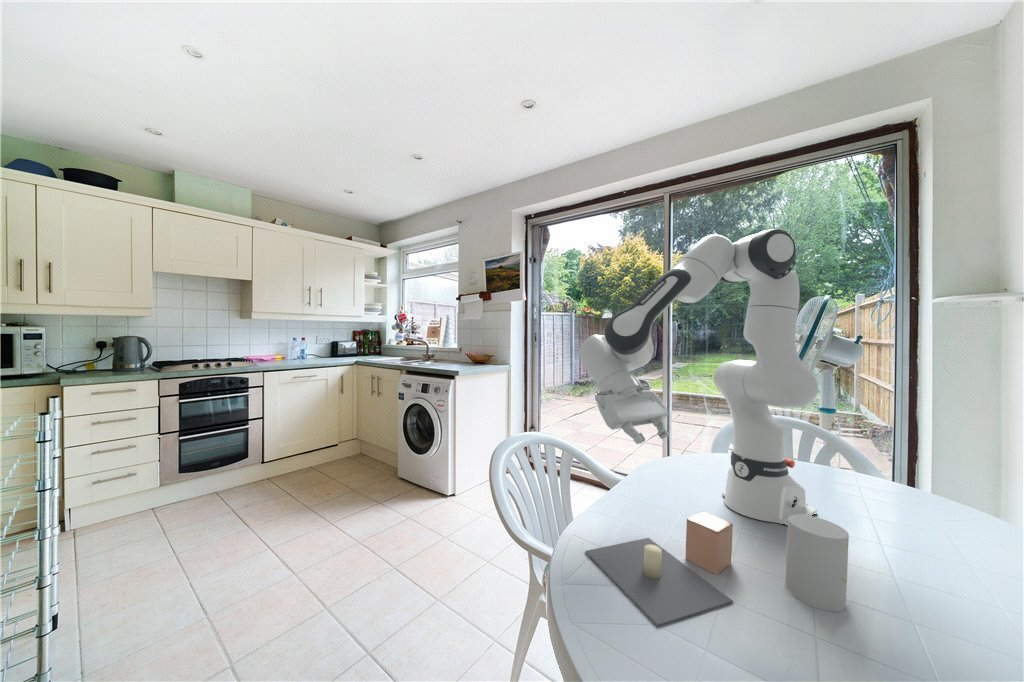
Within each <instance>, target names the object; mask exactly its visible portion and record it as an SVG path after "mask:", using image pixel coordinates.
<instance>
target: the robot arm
mask: <svg viewBox="0 0 1024 682" xmlns="http://www.w3.org/2000/svg"><path fill="white" fill-rule="evenodd" d="M796 255H797V247H796V243H795V239H793V236H792V235H791V234H790V233H789V232H788V231H786V230H783V229H779V228H778V229H777V228H774V229H771V228H770V229H766V230H761V231H759V232H757V233H755V234H751V235H748V236H745V237H743V238H740V239H739V240H738V241H735V242H732V241H731V240H730V239H729V238H727V237H726V236H724V235H721V234H708V235H707V236H705V237H703V238H702V239H701V240H699V241H697V243H695V244H694V245H693V246H692V247H690V249H689V250H688V251H686V253H685V254H684V255H682V257H681V258H680V259H679V260H678V261H677V262H676V264H674V266H673V267H672V268H670V269H669V270H667V271H666V272H664V273H663V274H661V276H660V277H659V278H658V279H657V280H655V282H653V284H652V285H650V287H648V288H647V289H646V290H645V291H644V292H643V293H642V294H641V295H640V296H639V297H638V298H637V299H636V300H635V301H634V302H633V303H632V304H629V305H628V306H627V307H626V308H624V309H622V310H620V311H619V312H617V313H615V314H613V315H612V316H611V317H610V318H609V319H608V321H607V323H606V324H605V327H604V335H602V334H597V333H596V334H592V335H590V336H589V337H587V338H586V339H584V341H583V342H582V343H581V345H580V348H579V351H578V352H579V357H580V361H581V363H582V365H583V366H584V369H585V371H586V372H587V373H588V375H589V377H590V378H591V379H592V380H594V382H595V383H596V387H597V389H598V391H597V392H596V394H595V396H594V399H595V401H596V403H597V408H598V410H599V412H600V415H601V417H602V419H603V421H604V422H605V425H606V426H607V427H608V428H609V429H611V430H619V429H621V430H623V432H624V433H625V434H626V435H628V436H629V437H630V438H632V439H633V441H634V443H635V444H636V445H639V444H641V445H642V444H643V443H644V442H645V441H646V437H645V436H644V434H643V433H642V432H639V431H638V430H637V429H636V428H635V427H638V426H644V425H645V426H646V425H651V424H652V425H653V426H654V427H655V428H656V430H657V432H656V434H657V435H658V436H659V438H660V439H661V440H664V439H667V438H668V437H669V436H670V433H669V432H668V430H667V428H666V425H665V421H664V420H666V418H668V417H669V411H668V409H667V407H666V406H665V404H664V402H663V401H662V400H661V398H660V397H659V395H658V394H657V393H656V392H655V391H654V390H652V388H653V386H652V385H651V383H650V382H649V381H647V380H646V379H642V378H640V377H638V376H635V375H634V374H633V375H632V373H631V372H634V371H636V370H638V369H640V368H643V367H645V366H646V365H648V364H650V362H651V360H652V359H653V357H654V352H655V349H654V343H653V340H652V337H651V332H652V331H651V330H652V326H653V324H654V322H655V321H656V319H658V318H659V317H660V316H661V315H662V314H663V312H664V311H666V310H667V308H669V307H670V305H671V304H672V303H673V302H674V301H679V302H681V303H685V304H694V303H697V302H699V301H701V300H702V299H703V298H705V296H707V295H708V294H709V293H710V292H711V291H713V289H714V288H715V287H716V285H717V284H718V283H719V282H723V283H725V284H738V283H740V282H746V281H747V283H748V286H749V289H750V291H749V292H750V294H749V298H748V303H747V309H746V315H745V322H744V325H743V326H744V327H743V337H744V339H745V341H747V343H749V344H750V345H752V346H753V348H754V352H755V354H756V355H755V357H756V358H755V360H745V359H735V360H729V361H724V362H721V363H720V364H719V365H718V366H717V367H716V369H715V371H714V373H713V383H714V385H715V387H716V389H717V390H718V392H720V393H721V395H722V396H723V398H724V399H725V402H726V403H727V406H728V409H729V411H730V414H731V419H732V425H733V441H732V442H733V447H732V448H733V450H731V453H730V454H731V455H730V465H731V467H730V468H728V471H727V478H726V484H725V490H723V491H722V492H721V493H722V494H721V496H722V497H723V496H724V497H725V498H724V497H723V498H724V499H723V500H724V501H723V502H724V505H725V506H726V507H727V508H729V509H731V510H732V511H734V512H735V513H737V514H740V515H742V516H745V517H748V518H751V519H755V520H759V521H763V522H769V523H775V524H781V525H783V524H785V525H784V526H787V525H788V517H789V516H790V515H808V516H811V515H812V514H814V513H816V512H817V513H818V510H817V509H816V508H815V507H814V506H812V505H811V504H809V503H807V502H806V490H805V488H804V486H802V485H801V484H800V483H799V482H798V481H797V480H795V479H794V478H793V477H792V476H791V475H790V474H789V470H788V468H791V469H793V468H795V466H796V465H795V464H796V462H795V460H793V459H789V458H786V457H785V437H786V435H785V429H784V428H783V426H782V425H781V424H780V422H778V421H777V420H776V419H775V418H774V416H773V415H772V413H771V411H770V409H769V406H771V407H775V408H782V409H783V408H786V409H795V408H798V409H799V408H800V409H801V408H805V407H808V406H809V405H811V403H813V402H814V401H815V400H816V397H817V396H818V392H819V383H818V380H817V378H816V376H815V374H814V373H813V371H811V370H810V369H808V367H806V365H805V364H804V362H803V361H802V359H801V358H800V356H799V353H798V351H797V345H796V332H797V331H796V330H797V329H796V328H797V323H798V322H797V321H798V314H799V308H800V307H799V306H800V293H801V292H800V281H799V276H798V274H797V273H796V272H795V271H793V269H794V267H795V264H796ZM805 505H807V506H805Z"/></svg>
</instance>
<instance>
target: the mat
mask: <svg viewBox="0 0 1024 682" xmlns="http://www.w3.org/2000/svg"><path fill="white" fill-rule="evenodd" d="M584 553H585V554H586V555H587V556H588V558H590V560H591V561H593V563H595V564H596V565H597V567H598V568H599V569H600V570H601V571H602V572H603V573H604V574H605V575H606V576H607V577H608V578H609V579H610V580H611V582H613V583H614V584H615V585H616V587H618V589H620V590H621V591H622V592H623V594H624V595H625V596H626V597H627V598H628V597H629V598H628V599H629V600H630V601H631V602H632V603H633V604H634V605H635V606H636V607H637V609H639V610H640V611H641V612H642V613H643V615H645V616H646V617H647V618H648V620H650V621H651V622H652V624H653V625H654V626H655V627H656V628H659V627H663V626H666V625H669V624H671V623H676V622H678V621H682V620H684V619H687V618H690V617H693V616H697V615H699V614H703V613H706V612H710V611H713V610H716V609H719V608H722V607H725V606H727V605H731V604H734V600H733V599H732V598H730V597H729V596H727V595H726V594H725V593H723V591H721V590H719V589H718V588H717V587H715V585H713V584H711V583H710V582H709V581H707V580H706V579H705V578H703V577H702V576H701V575H699V574H698V573H697V572H695V571H694V570H692V569H691V568H690V567H688V566H687V565H686V564H685V563H683V562H682V561H681V560H679V559H678V558H676V557H675V556H674V555H673V554H671V553H670V552H668V551H667V550H666V549H664V548H663V547H661V546H660V545H659V544H657V543H656V542H655V541H654V540H653V539H651V538H649V537H646V538H640V539H636V540H630V541H626V542H621V543H617V544H613V545H607V546H602V547H598V548H592V549H587V550H585V551H584Z"/></svg>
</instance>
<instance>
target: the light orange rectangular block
mask: <svg viewBox="0 0 1024 682" xmlns="http://www.w3.org/2000/svg"><path fill="white" fill-rule="evenodd" d="M733 527H734V525H733V522H730V521H727V520H725V519H722V518H720V517H718V516H715V515H712V514H710V513H708V512H705V511H699V512H698V513H696V514H694V515H693V514H692V515H691V516H689V517H687V518H686V531H685V532H686V534H685V535H686V536H685V556H684V557H685V559H686V560H688V561H690V562H691V563H692V564H696V565H697V566H699V567H701V568H702V569H705V570H706V571H709V572H711V573H713V574H715V575H716V576H717V575H719V574H720V573H721V572H723V570H725V569H727V568H728V567H729V566H730V565H732V556H733V553H732V551H733V548H732V547H733Z"/></svg>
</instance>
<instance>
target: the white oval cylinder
mask: <svg viewBox="0 0 1024 682" xmlns="http://www.w3.org/2000/svg"><path fill="white" fill-rule="evenodd" d="M786 528H787V531H786V553H785V554H786V559H785V579H784V580H785V583H784V584H785V587H786V589H787V591H788V592H789V593H790V594H791V595H792V596H794V597H795V598H796V599H798V600H800V602H803V603H805V604H806V605H810V606H812V607H814V608H816V609H820V610H823V611H828V612H835V613H836V612H837V613H838V612H841V611H844V610H845V609H846V608H847V592H848V591H847V587H848V586H847V585H848V566H849V564H848V563H849V561H848V560H849V543H850V542H849V541H850V540H849V539H850V537H849V532H848V530H846V529H844V528H843V527H842V526H840V525H838V524H836V523H833V522H832V521H829V520H826V519H824V518H820V517H816V516H808V515H790V516H789V517H788V526H787V527H786Z"/></svg>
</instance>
